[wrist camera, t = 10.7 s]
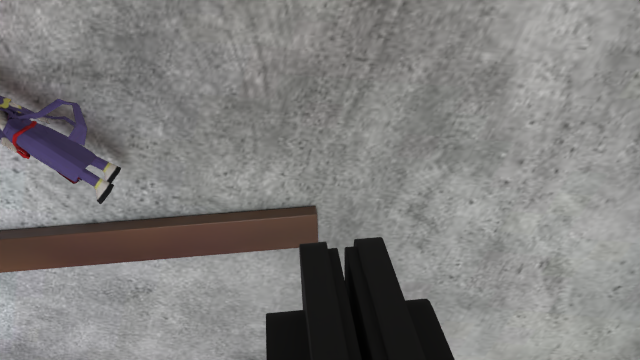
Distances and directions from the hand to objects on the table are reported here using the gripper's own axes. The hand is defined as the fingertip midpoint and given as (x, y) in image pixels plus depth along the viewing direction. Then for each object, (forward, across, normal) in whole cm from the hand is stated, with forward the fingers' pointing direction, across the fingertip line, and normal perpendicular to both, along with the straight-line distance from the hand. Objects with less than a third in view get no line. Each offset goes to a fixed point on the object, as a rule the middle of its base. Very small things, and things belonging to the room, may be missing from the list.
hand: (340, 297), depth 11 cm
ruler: (+19, +12, +11) cm, 25 cm away
